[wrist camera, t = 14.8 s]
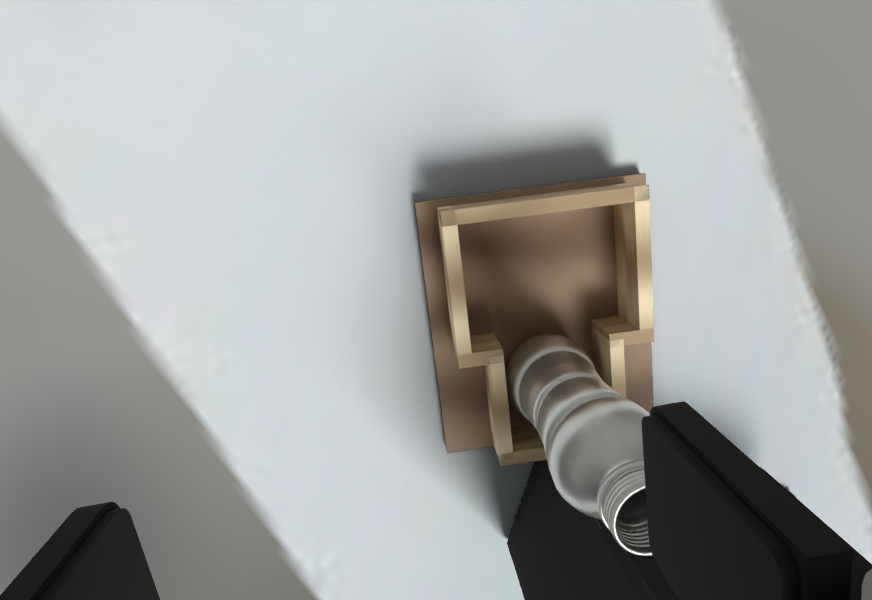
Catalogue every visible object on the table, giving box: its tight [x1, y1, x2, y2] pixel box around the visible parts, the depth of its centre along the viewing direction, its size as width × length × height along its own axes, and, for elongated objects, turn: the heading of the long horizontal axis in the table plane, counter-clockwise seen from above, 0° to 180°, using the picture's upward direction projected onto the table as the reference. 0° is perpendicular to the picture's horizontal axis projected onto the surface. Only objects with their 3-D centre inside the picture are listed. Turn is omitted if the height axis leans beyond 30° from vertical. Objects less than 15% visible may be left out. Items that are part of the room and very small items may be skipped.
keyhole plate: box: [415, 173, 654, 466], centre depth 43 cm, size 20×17×5 cm
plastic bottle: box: [506, 333, 652, 556], centre depth 35 cm, size 6×7×20 cm
